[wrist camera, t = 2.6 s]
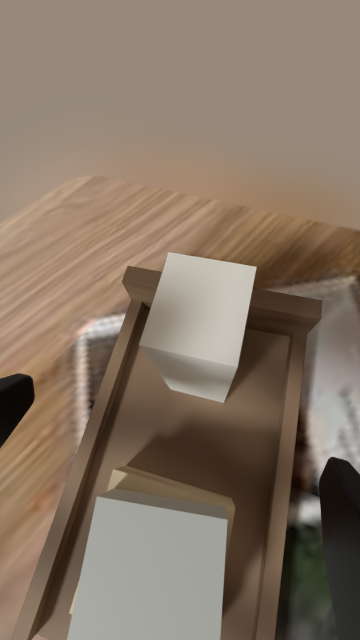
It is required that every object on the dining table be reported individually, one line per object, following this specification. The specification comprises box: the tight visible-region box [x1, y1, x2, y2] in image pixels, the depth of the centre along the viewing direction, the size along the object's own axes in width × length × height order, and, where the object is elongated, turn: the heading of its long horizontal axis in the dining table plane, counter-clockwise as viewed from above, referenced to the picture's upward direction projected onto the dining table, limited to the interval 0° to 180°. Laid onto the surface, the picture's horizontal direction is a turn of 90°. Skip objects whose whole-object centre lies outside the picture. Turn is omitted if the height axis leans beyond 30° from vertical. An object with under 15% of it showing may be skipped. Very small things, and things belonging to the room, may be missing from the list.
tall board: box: [139, 252, 257, 403], centre depth 15 cm, size 4×4×10 cm
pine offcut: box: [69, 466, 235, 614], centre depth 15 cm, size 6×6×2 cm
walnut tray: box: [11, 266, 322, 640], centre depth 16 cm, size 20×12×4 cm, turn 166°
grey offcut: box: [67, 488, 227, 640], centre depth 12 cm, size 5×6×2 cm
